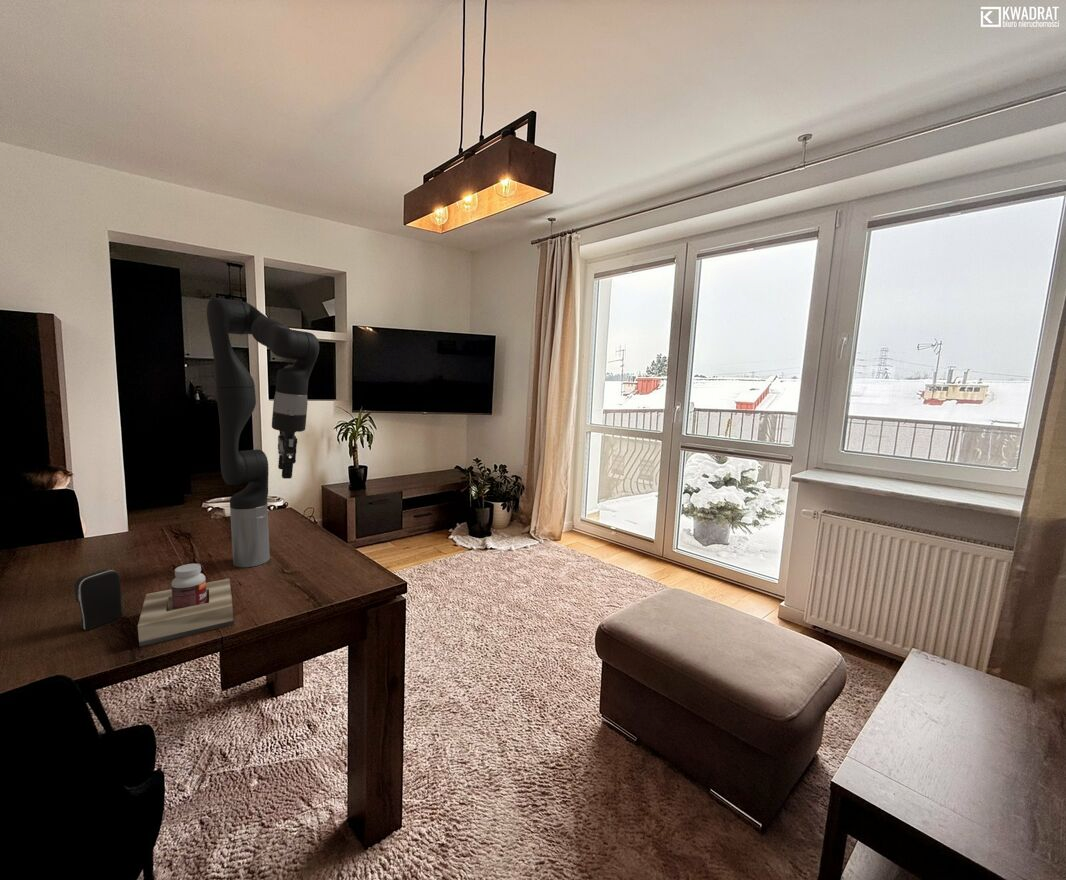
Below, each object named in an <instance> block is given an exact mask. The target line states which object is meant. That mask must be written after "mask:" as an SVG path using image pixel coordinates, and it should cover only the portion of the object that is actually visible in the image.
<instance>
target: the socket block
mask: <svg viewBox="0 0 1066 880" xmlns="http://www.w3.org/2000/svg"><path fill="white" fill-rule="evenodd" d="M206 595H207V603H205V604H200V605H195V606H190V607H186V608H181V609H176V610H173V601H172V588H171V589H165V590H160V591H155V592H151V593H145V597H144V601H143V604H142V609H141V612H140V616H139V620H138V624H137V633H138V642H139V643H138V645H139V648H141V647H144V646H145V647H146V646H149V645H153V644H158V643H161V642H166V641H171V640H175V639H178V638H179V639H180V638H183V637H187V636H191V635H195V634H196V635H197V634H199V633H204V632H209V631H212V630H216V629H220V628H225V627H230V626H233V625H234V612H233V610H234V609H233V597H232V590H231V580H230V578H225V579H219V580H214V581H209V582H206Z"/></svg>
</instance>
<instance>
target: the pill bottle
mask: <svg viewBox="0 0 1066 880" xmlns="http://www.w3.org/2000/svg"><path fill="white" fill-rule="evenodd" d="M201 571H202V567H201V564H200V563H187V564H183V565H180V566H177V567H176V568H175V569H174V576H175V577H174V578H173V579H172V581H171V589H172V601H173V610H176V609H181V608H186V607H190V606H195V605H200V604H205V603H207V595H206V583H207V582H206V580H207V579H206V576H205V575H204V573H202V572H201Z"/></svg>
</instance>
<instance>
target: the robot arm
mask: <svg viewBox="0 0 1066 880" xmlns="http://www.w3.org/2000/svg"><path fill="white" fill-rule="evenodd" d="M206 317H207V319H206V322H207V326H208V333H209V337H210V343H211V349H212V355H213V365H214V379H215V394H216V402H217V410H218V418H219V419H218V421H219V434H220V439H219V440H220V442H219V445H220V448H219V449H220V451H219V452H220V453H219V455H220V471H221V477H222V479H223V481H224V483H226V484H227V485H229V486H232V485H241V484H247V485H246V487H244V488H243V489H242V490H240V491H238V492H237V493H235V494H233V495H231V497H230V498H229V512H230V515H229V516H230V528H231V529H230V530H231V545H232V546H231V547H232V565H233V566H234V567H237V568H250V567H252V568H253V567H256V566H260V565H264V564H266V563H268V562H269V561H270V557H271V556H270V535H269V532H270V531H269V513H268V496H269V461H268V456H267V454H266V453H265V452H264V451H263V450H261V449H250V450H249V449H247V450H239V443H240V437H241V433H242V432H243V429H244V427H245V425H246V424H247V422H248V421H249V419H250V417H251V416H252V414H253V412H254V411H255V408H256V405H257V396H256V385H255V381H254V379H253V377H252V374H251V373H250V372H249V371H248V369H247V368H246V366H245V365H244V364H243V363H242V361H240V359H239V358H238V356H237V354H236V353H235V351H234V349H233V347H232V343H231V340H230V335H229V334H232V335H241V336H243V335H251V336H252V337H253V338H254V340H255V341H256V342H257V343H259V344H260V345H263V346H265V347H266V348H268V350H270V351H271V352H272V354H273V355H275V356H277V357H279V358H282V359H290V360H291V359H292V360H296V361H295V363H294V364H293V365H292V366H290V367H289V366H288V367H283V368H279V370H277V373H276V382H275V383H276V384H275V392H274V393H275V394H274V397H273V404H272V406H273V407H272V419H271V428H272V429H273V430H275V431H278V432H279V435H278V436H277V441H278V442H277V450H278V451H277V454H278V466H277V467H278V469H279V470H281V478H282V479H286V480H287V479H292V478H293V470H294V464H296V462H297V460H296V457H297V448H298V447H297V445H298V438H297V436H296V435H295V433H297V432H298V433H301V432H304V431H305V430H306V426H307V414H308V405H309V404H308V393H309V392H308V391H309V380H310V377H311V373H312V371H313V369H314V367H315V363H316V362H317V359H318V357H319V353H320V342H319V340H318V337H317V336H316V335H315V334H314V333H312V332H309V331H303V330H296V329H290V327H289V326H287V325H285V324H284V323H281V322H279V321H277V320H274V319H272V318H270V317H268V316H266V314H263V313H262V312H261V311H259V310H258V309H257V307H255V306H254V305H252V304H251V303H248V302H246V301H243V300H237V299H228V298H224V297H223V298H221V297H212V298H210V299H209V301H208V302H207V306H206Z"/></svg>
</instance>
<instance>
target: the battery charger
mask: <svg viewBox="0 0 1066 880" xmlns="http://www.w3.org/2000/svg"><path fill="white" fill-rule="evenodd" d="M120 579H121V578H120V575H119V573H118V572H117V571H116V570H113V569H112V570H111V569H102V570H99V571H96V572H92V573H89V574H86V575H83V576H81V577H80V576H79V578H78V579H76V581H75V582H74V598H75V602H76V603H78V605H79V611H80V617H81V621H80V627H81V628H82V629H83V630H84V631H89V630H91V629H94V628H98V627H101V626H103V625H105V624H108V623H110V622H112V621H114V620H117V619H119V618H121V617H122V616H124V615H123V607H122V606H123V605H122V588H121V580H120Z"/></svg>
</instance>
